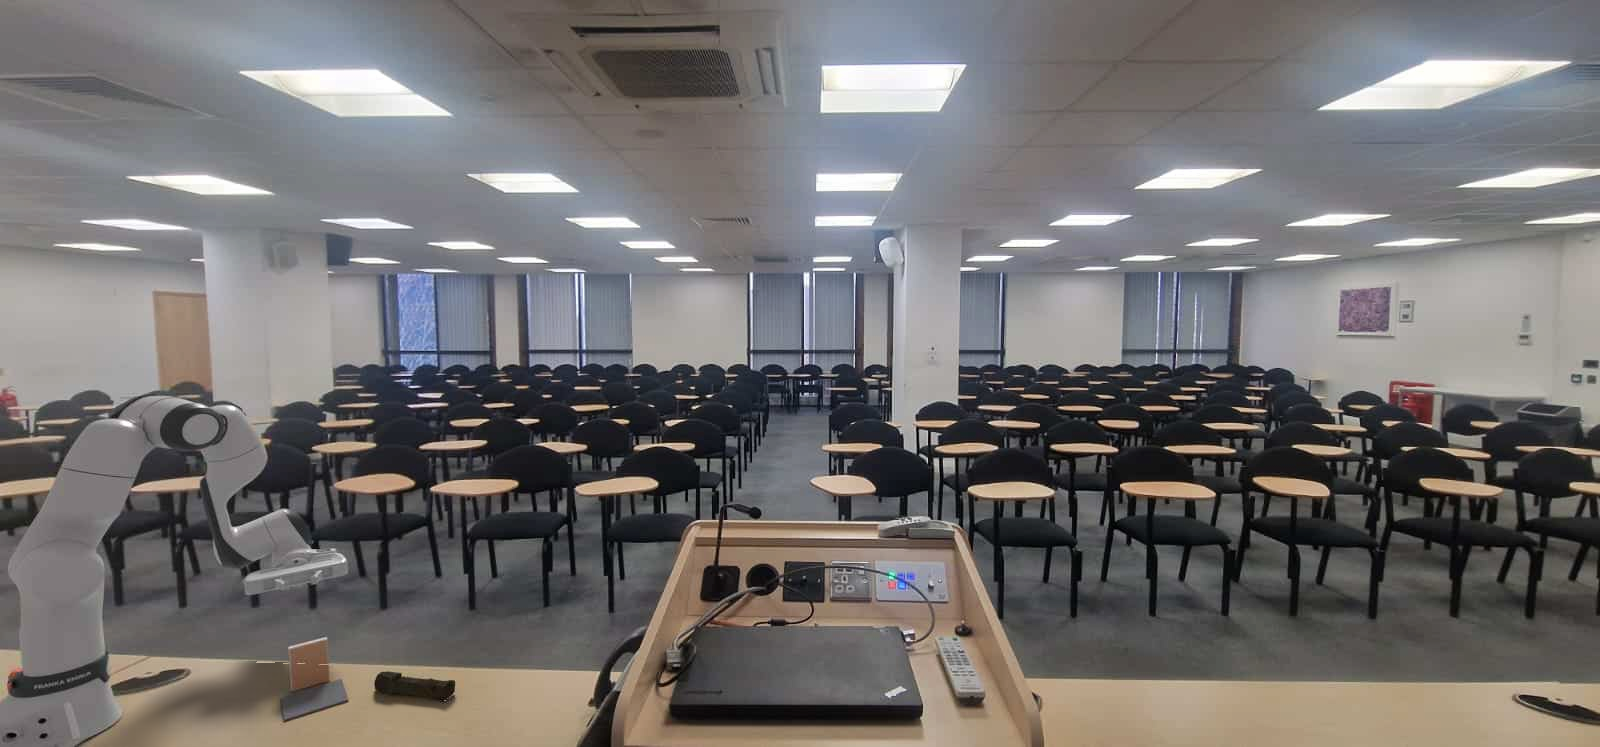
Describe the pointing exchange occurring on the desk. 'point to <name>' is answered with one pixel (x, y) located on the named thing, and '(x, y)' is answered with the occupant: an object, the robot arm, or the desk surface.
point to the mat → (313, 699)
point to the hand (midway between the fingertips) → (300, 584)
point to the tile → (309, 664)
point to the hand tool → (413, 685)
